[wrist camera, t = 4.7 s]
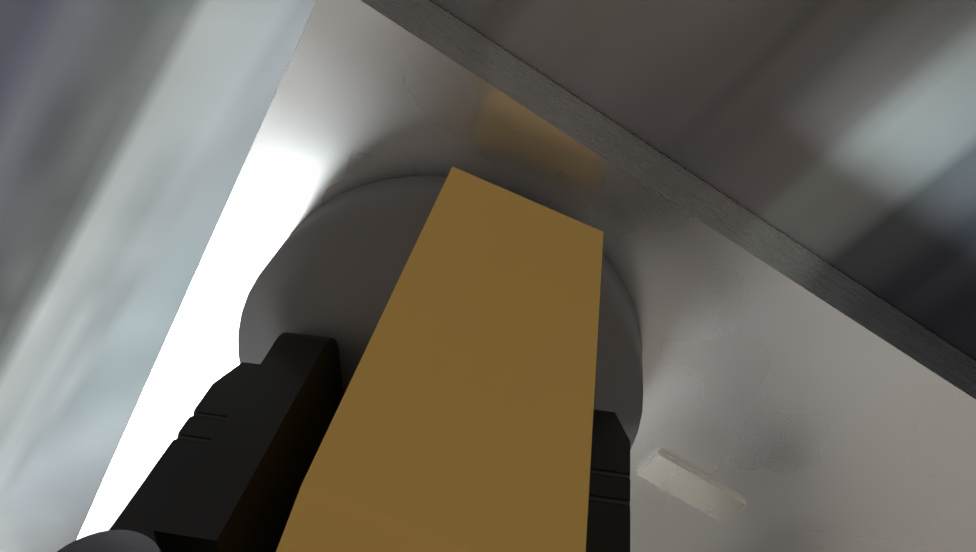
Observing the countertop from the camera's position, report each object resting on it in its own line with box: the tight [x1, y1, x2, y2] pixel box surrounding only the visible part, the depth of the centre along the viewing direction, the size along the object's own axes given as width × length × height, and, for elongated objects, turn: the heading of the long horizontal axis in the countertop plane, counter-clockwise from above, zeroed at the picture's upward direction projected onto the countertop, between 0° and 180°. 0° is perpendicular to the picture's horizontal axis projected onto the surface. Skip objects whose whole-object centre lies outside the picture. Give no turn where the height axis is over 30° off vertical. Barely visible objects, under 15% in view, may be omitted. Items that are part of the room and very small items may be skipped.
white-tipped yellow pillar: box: [238, 166, 643, 552], centre depth 9 cm, size 7×6×6 cm
